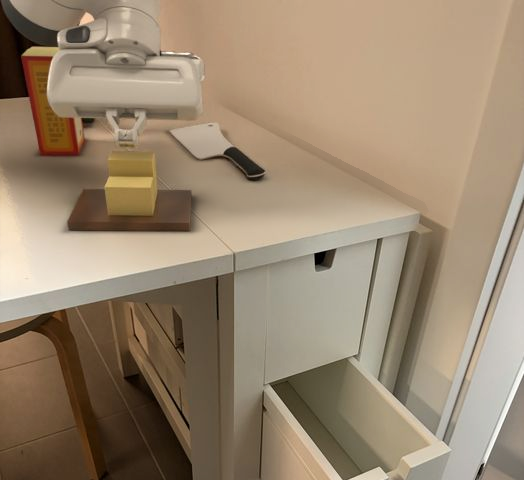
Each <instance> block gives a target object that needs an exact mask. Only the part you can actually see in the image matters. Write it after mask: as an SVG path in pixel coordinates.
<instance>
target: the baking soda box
mask: <svg viewBox="0 0 524 480" xmlns="http://www.w3.org/2000/svg"><path fill="white" fill-rule="evenodd" d="M58 51H60V50H59V46H58V47H50V46H31V47H30V48H28V49H26V50H25V51H24V52H23V53H22V54H21V56H20V58H21V63H22V69H23V74H24V78H25V79H24V80H25V83H26V89H27V93H28V99H29V104H30V109H31V115H32V119H33V120H32V121H33V125H34V131H35V135H36V138H37V145H38V149H39V154H40V156H79V155H80V153H81V150H82V149H83V145H84V143H85V139H86V138H85V131H84V124H83V120H82V118H71V117H59V116H58V115H57V114H56V113H55V112H54V111H53V110H52V108H51V106H50V104H49V102H48V99H47V84H48V76H49V70H50V65H51V61H52V59H53V57H54V55H55V54H56V53H57V52H58Z"/></svg>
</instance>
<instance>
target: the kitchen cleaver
mask: <svg viewBox="0 0 524 480" xmlns="http://www.w3.org/2000/svg"><path fill="white" fill-rule="evenodd" d="M220 128H221V127H220V124H219V123H218V122H207V123H202V124H195V125H191V126H185V127H180V128H174V129H170V130H169V133H170V134H171V135H172V136H173V137H174V138H175V139H176V140H177V141H178V142H179V143H180V144H181V145H182V146H183V147H184V148H185V149H186V150H187V151H188V152H189V153H190V154H191V155H192V156H193V157H194V158H196V159H197V160H200V161H201V160H205V159H206V160H207V159H209V158H213V157H221V156H222V157H223V158H225V159H226V160H229V161H231V162H232V163H234V164H235V165H236V166H237V167H238V168H239V169H240V170H241V171H242V172H243V173H244V174H245V175H246V177H247V178H248V179H249V180H251V181H258V180H261V179H262V178H264V177H265V175H266V170H265V169H264V168H263V167H262V166H260V165H259V164H258V163H256V162H255V161H254V160H252V159H251V158H250V157H249V156H248V155H246V154H245V152H243V151H242V150H240V149H239V148H237V147H236V146H234V145H233V144H232V143H231V142H229V140H227V139H226V137H225V136H224V134H223V133H222V130H221V129H220Z"/></svg>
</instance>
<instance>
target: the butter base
mask: <svg viewBox="0 0 524 480" xmlns="http://www.w3.org/2000/svg"><path fill="white" fill-rule="evenodd" d="M107 164H108V175H109V176H110V177H153V183H154V196H155V201H156V196H157V190H158V183H157V182H158V181H157V180H158V179H157V170H156V169H157V167H156V166H157V165H156V154H155V151H153V150H152V151H149V150H148V151H147V150H146V151H145V150H144V151H143V150H111V152H110V154H109V157H108V159H107Z"/></svg>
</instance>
